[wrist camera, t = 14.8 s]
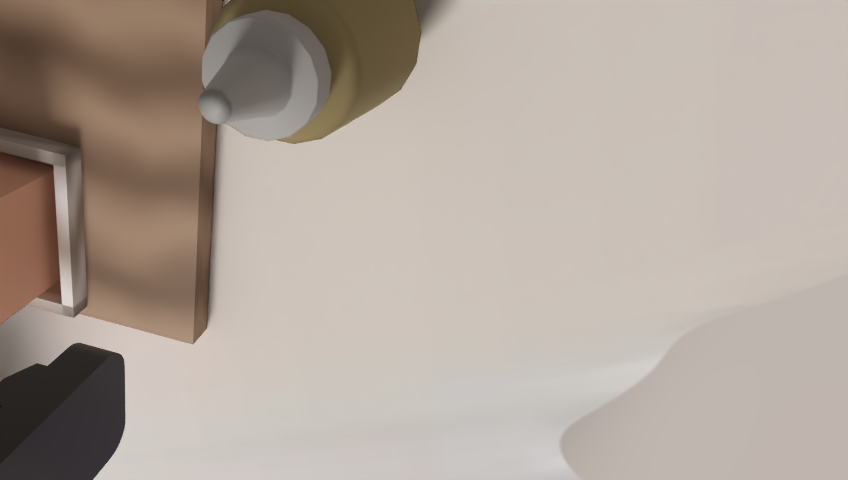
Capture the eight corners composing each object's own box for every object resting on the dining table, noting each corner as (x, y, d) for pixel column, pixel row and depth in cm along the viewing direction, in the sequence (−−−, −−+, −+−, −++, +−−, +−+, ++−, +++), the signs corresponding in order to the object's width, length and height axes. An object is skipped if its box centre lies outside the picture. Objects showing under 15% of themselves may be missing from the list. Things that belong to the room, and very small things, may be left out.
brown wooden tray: (-45, -88, 41) (-96, -87, 38) (223, -28, 39) (193, -22, 36) (-5, 272, 52) (-42, 295, 48) (206, 328, 50) (182, 356, 47)
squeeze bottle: (299, 94, 42) (128, 216, 26) (282, -56, 38) (72, -23, 22) (436, 95, 40) (345, 225, 24) (431, -61, 37) (321, -30, 21)
